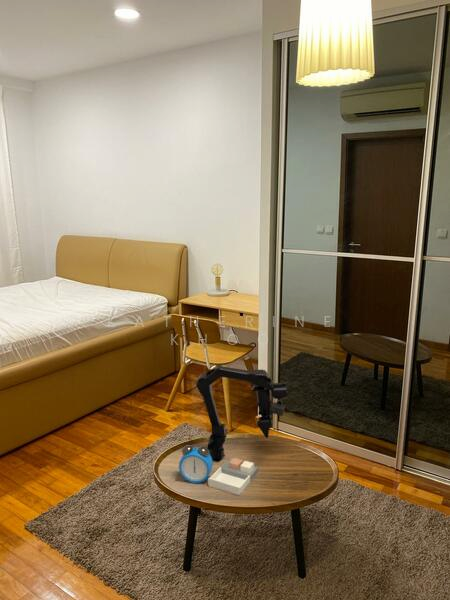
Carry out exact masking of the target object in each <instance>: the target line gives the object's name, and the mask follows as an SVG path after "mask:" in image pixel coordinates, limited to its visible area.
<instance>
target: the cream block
mask: <svg viewBox="0 0 450 600" xmlns="http://www.w3.org/2000/svg"><path fill="white" fill-rule="evenodd" d="M254 466H255V463H254V462H252V461H251V462H250V461H247V460H244V461H243V463H242V465H241V471H242V472H245V473H249V474H250V473H251V472H252V470H253V469H254Z"/></svg>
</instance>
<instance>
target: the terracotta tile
mask: <svg viewBox="0 0 450 600" xmlns="http://www.w3.org/2000/svg"><path fill="white" fill-rule="evenodd" d="M243 462H244V461H243V459H240V458H237V457H233V458H232V459H231V461H230V462H229V468H231V469H235V470H239V469H240V468H241V465H242V463H243Z"/></svg>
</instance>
